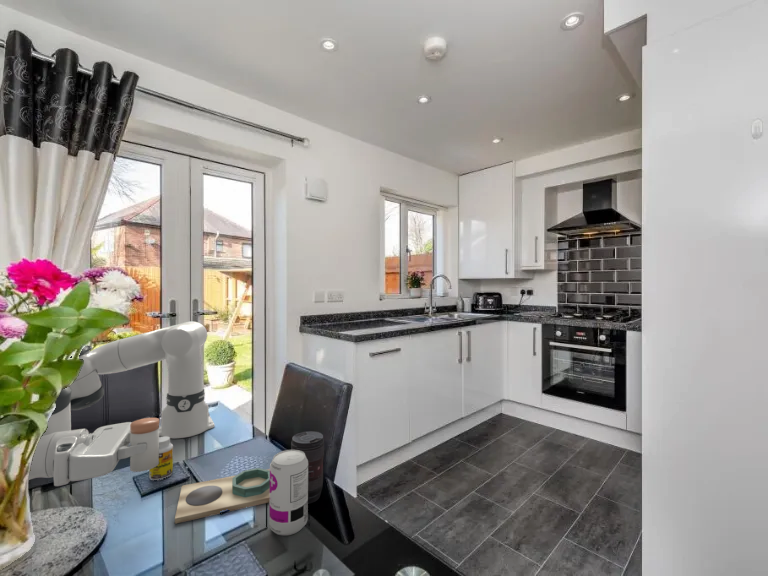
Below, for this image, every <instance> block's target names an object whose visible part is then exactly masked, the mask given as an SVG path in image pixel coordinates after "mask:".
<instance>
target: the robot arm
mask: <svg viewBox="0 0 768 576" xmlns="http://www.w3.org/2000/svg"><path fill="white" fill-rule="evenodd" d="M207 338H208V331H207V328H206V327H205V326H204V325H203V324H202V323H200V322H197V321H192V320H191V321H185V322H181V323H178V324H174V325H170V326H166V327H163V328H160V329H159V328H158V329H156V330H151V331H148V332H144V333H143V332H142V333H141V334H140V333H139V334H136V335H132V336H128V337H125V338H121V339H117V340H114V341H111V342H108V343H105V344H103V345H100V346H99V347H96V348H94V349H93V347H92V346H91V345H85V347H84V348H83V349H82V351H81V353H80V355H79V359H83V360H84V365H83V367H82V369H81V371H80V373H79V376H78V377H77V379H76V380H75V381H74V383H73V384H72V385H71V386H70V387H67V388H65V389H63V390H62V391H61V393H60V395H59V397H58V398H57V401H56V408H55V410H54V412H53V413H52V415H51V417H50V418H49V422H48V428H47V430H46V432H45V433H44V434H43V436H42V437H41V439H40V441H39V443H38V445H37V448H36V451H35V454H34V457H33V461H32V465H31V471H30V475H29V480H34V479H36V478H46V479H49V478H53V486H54V487H60V486H64V485H68V484H69V483H70V482H78V481H84V480H85V481H86V480H89V479H90V480H91V479H94V478H99V477H103V476H106V475H107V474H110V473H113V471H114V470H115V468H116V466H117V465H118V463H119V461H120V460H123V459H127V458H130V456H133V455H135V454H139V453H144V452H145V451H146V449H147V443H146V442H143V443H138V444H137V445H133V446H130V436H131V433H130V424H131V423H132V422H133V421H132V422H131V421H126V422H121V423H120V422H119V423H115V424H107V425H103V426H100V427H98V428H95V430H94V431H93V432H90V431H89V430H88V429H87V428H79V429H72V415H71V414H72V413H71V411H80V410H83V409H86V408H89V407H92V406H93V405H95V404H97V403H98V402H100V400H101V399H103V397H104V395H105V390H104V385H103V384H102V381H101V377H100V375H110V374H117V373H121V372H122V373H123V372H126V371H129V370H133V369H137V368H141V367H145V366H148V365H151V364H156V363H158V362H161V361H166V366H167V381H168V382H167V384H168V386H167V391H168V392H167V393H166V397H165V398H166V399H165V401H166V406H165V407H164V408H163V410H161V416H160V426H159V437H163V436H168V437H170V439H183V438H189V437H194V436H196V435H199V434H202V433H204V432H206V431H207V430H210V429H213V428H215V426H216V425H215V423H214V421H213V419H212V417H211V414H210V412H209V409H210V407H209V404H208V403H206V401H205V396H206V395H205V393H206V392H205V389H204V367H203V364H202V358H201V352H200V351H201V347H202V346H204V344H205V343H206V341H207ZM70 358H72V356H71V357H70ZM29 480H28V481H29Z"/></svg>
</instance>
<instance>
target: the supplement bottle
mask: <svg viewBox="0 0 768 576" xmlns="http://www.w3.org/2000/svg"><path fill="white" fill-rule="evenodd" d="M173 466H174V445H173V443H172V442H171V438H170V437H168V436H159V464H158V465H157V466H156V467H154V468H152V469H150V470H148V477H149V480H151V479H152V480H151V481H154V480H157V481H160V480H159V479H162V480H164V479H163V478H165V479H167V478H169V477H170V476H172V475H173V472H174V470H173V469H174V467H173ZM168 476H169V477H168ZM166 477H167V478H166Z"/></svg>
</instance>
